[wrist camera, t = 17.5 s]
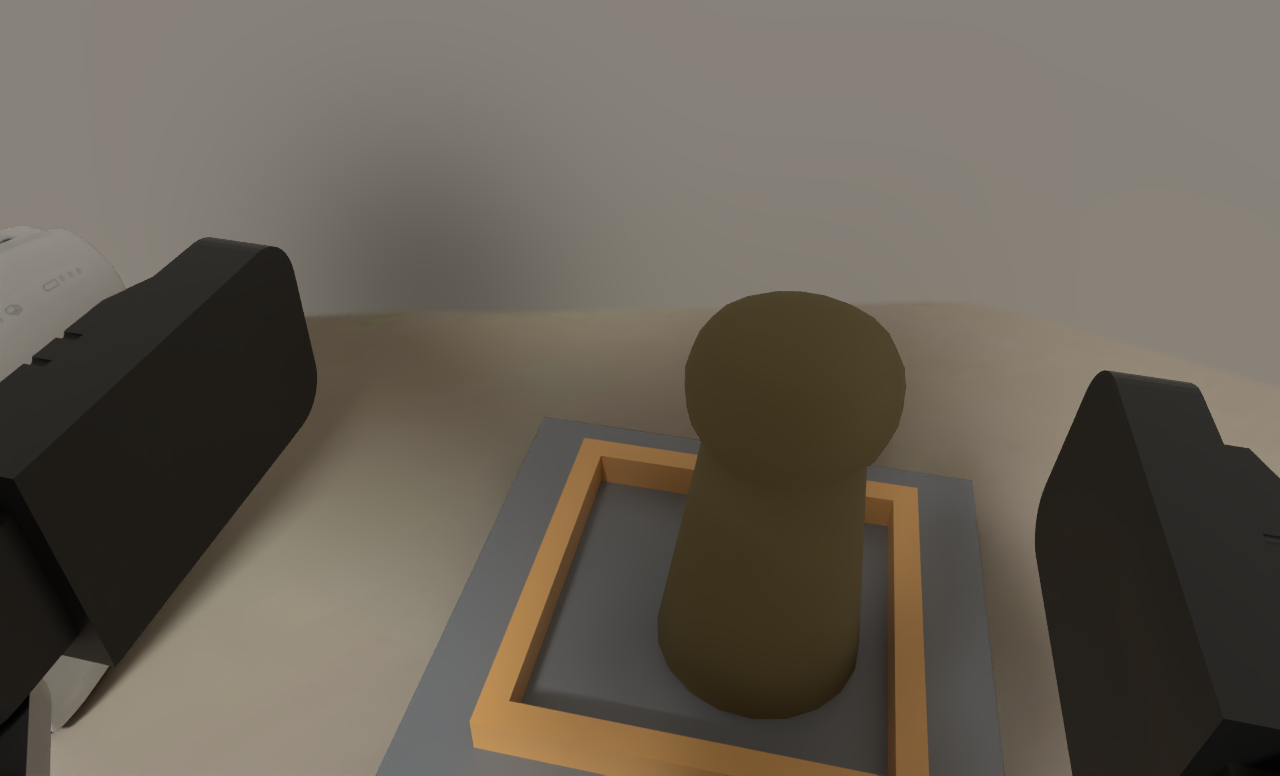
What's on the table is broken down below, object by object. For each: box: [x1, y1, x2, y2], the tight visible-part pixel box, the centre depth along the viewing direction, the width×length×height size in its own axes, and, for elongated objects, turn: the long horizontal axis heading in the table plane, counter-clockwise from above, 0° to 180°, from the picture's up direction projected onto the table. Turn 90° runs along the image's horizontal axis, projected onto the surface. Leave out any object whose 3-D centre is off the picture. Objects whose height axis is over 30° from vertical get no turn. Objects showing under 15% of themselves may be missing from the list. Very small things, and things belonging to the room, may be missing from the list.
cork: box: [657, 291, 906, 719], centre depth 24 cm, size 6×6×11 cm
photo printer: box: [0, 225, 126, 732], centre depth 26 cm, size 10×4×12 cm, turn 174°
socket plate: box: [376, 417, 1004, 776], centre depth 28 cm, size 16×16×3 cm
